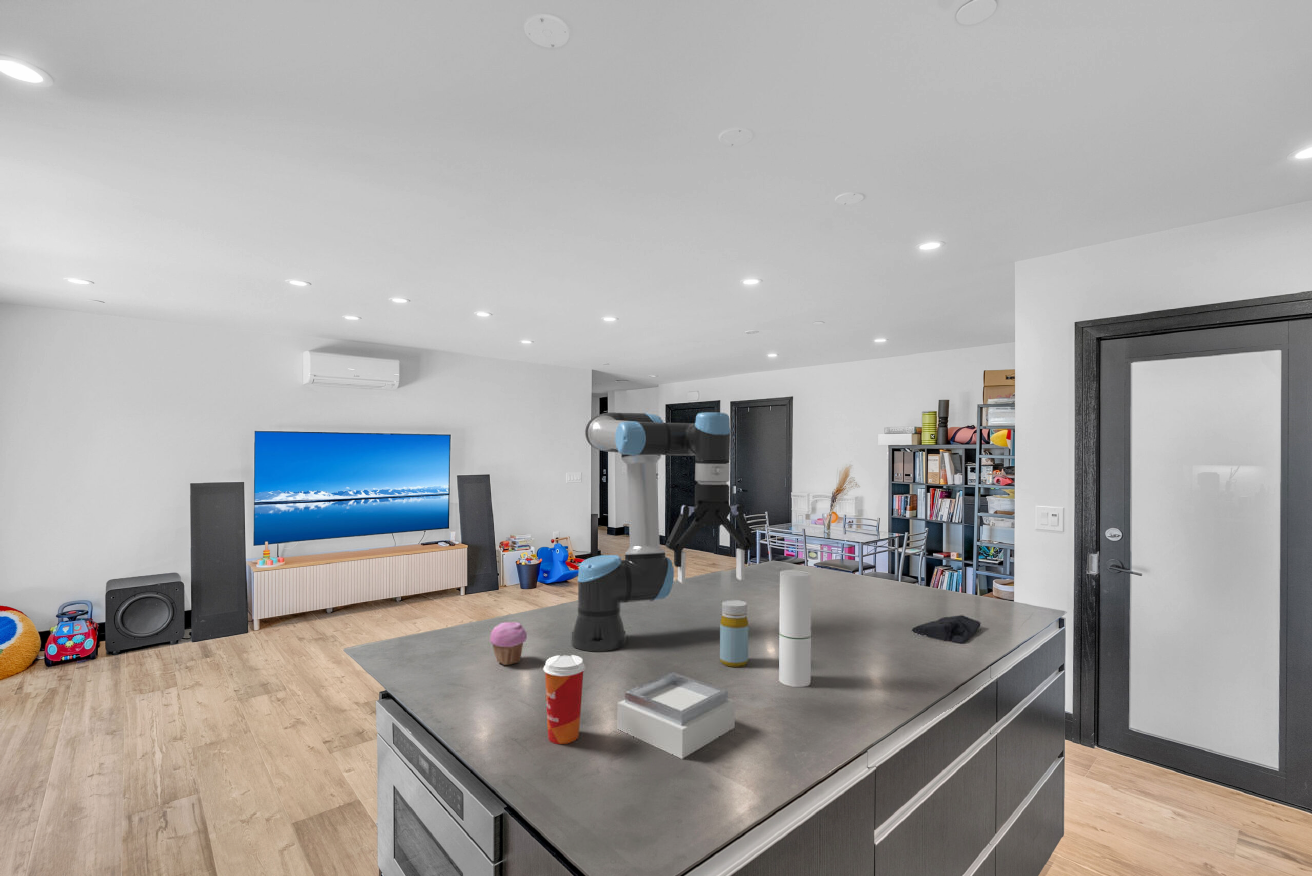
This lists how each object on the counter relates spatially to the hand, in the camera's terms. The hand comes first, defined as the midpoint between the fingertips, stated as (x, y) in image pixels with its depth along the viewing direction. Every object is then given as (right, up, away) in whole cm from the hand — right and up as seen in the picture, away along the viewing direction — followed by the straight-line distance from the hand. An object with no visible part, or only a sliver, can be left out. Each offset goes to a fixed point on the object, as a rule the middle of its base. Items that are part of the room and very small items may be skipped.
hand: (711, 580), depth 129 cm
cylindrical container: (+20, -26, +9) cm, 34 cm away
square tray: (-8, -25, -16) cm, 30 cm away
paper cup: (-29, -24, -20) cm, 43 cm away
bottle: (+8, -26, +20) cm, 33 cm away
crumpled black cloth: (+76, -28, +49) cm, 94 cm away
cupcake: (-49, -25, +18) cm, 58 cm away
